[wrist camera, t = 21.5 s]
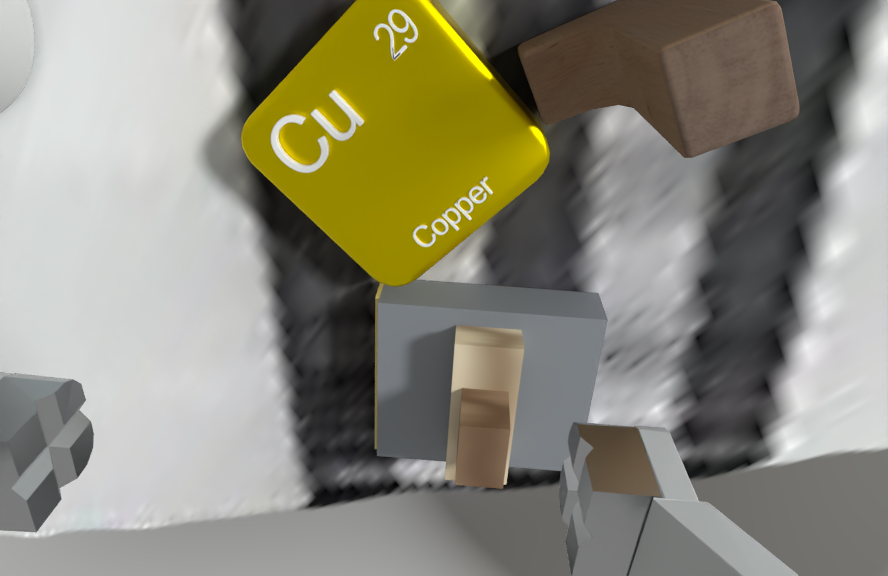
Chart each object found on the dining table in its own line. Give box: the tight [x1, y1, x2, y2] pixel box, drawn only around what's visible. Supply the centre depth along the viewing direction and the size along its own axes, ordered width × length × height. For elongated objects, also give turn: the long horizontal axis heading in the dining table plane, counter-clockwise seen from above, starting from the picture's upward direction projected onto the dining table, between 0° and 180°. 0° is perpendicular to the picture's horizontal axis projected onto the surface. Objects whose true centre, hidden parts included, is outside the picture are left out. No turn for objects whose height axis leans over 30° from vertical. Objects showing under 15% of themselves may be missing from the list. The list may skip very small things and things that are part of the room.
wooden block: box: [518, 0, 799, 158], centre depth 32 cm, size 9×4×18 cm, turn 113°
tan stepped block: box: [445, 325, 524, 484], centre depth 46 cm, size 5×12×3 cm, turn 177°
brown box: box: [455, 388, 511, 489], centre depth 43 cm, size 3×5×4 cm, turn 177°
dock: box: [375, 280, 607, 471], centre depth 49 cm, size 16×14×4 cm
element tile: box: [241, 0, 550, 287], centre depth 41 cm, size 15×15×5 cm
